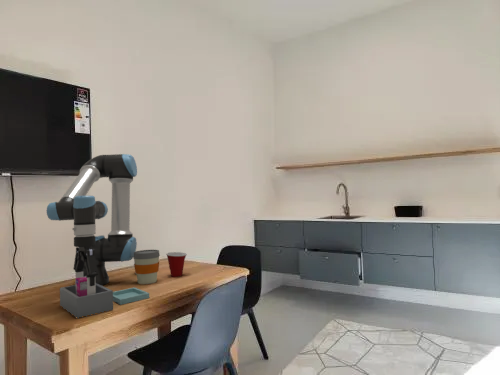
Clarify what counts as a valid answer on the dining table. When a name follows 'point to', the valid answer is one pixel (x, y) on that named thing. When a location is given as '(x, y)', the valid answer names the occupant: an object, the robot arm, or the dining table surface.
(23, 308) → the dining table surface
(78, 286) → the supplement box
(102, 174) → the robot arm
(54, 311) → the dining table surface
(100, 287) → the deep bin
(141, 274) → the reusable coffee cup
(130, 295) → the tray
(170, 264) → the plastic cup
